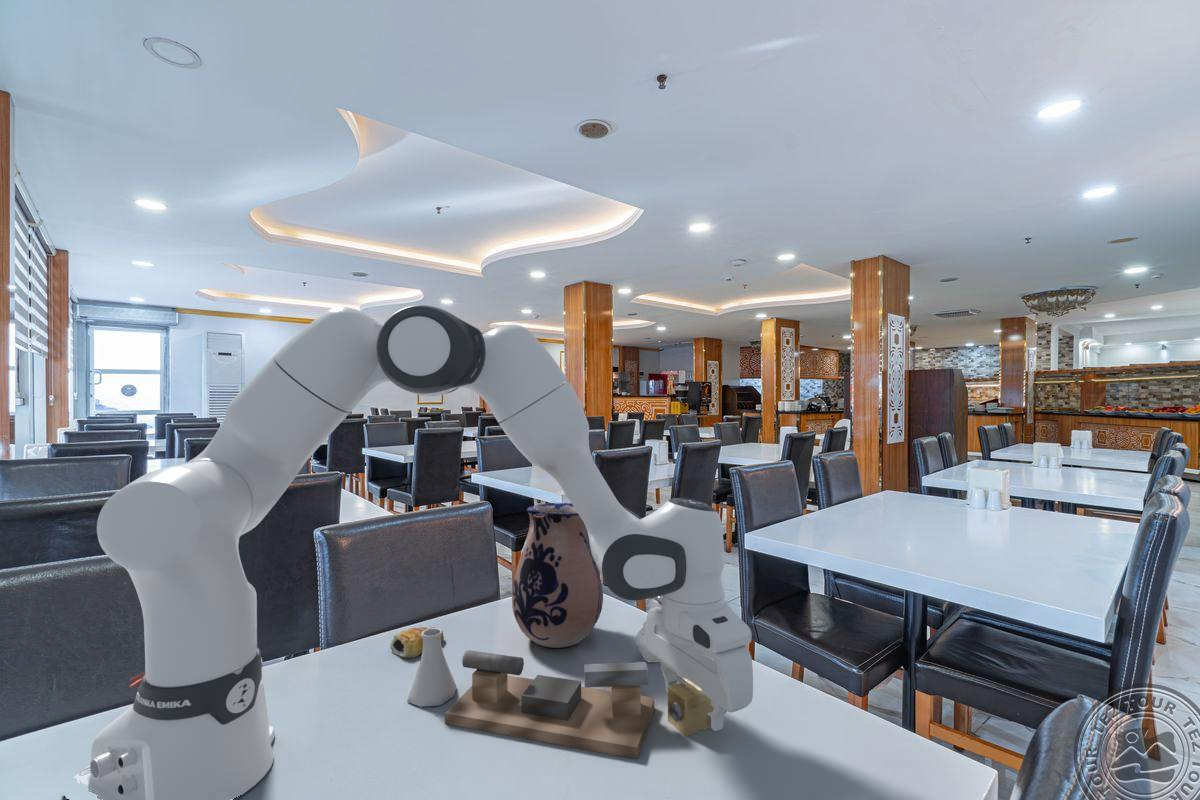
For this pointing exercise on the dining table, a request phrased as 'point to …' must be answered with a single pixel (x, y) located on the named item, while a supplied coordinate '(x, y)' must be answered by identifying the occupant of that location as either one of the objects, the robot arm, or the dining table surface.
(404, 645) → the pastry
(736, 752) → the dining table surface
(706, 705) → the tan rectangular block
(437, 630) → the flask
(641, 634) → the white rounded piece
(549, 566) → the ceramic pitcher
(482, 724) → the shaft stand
